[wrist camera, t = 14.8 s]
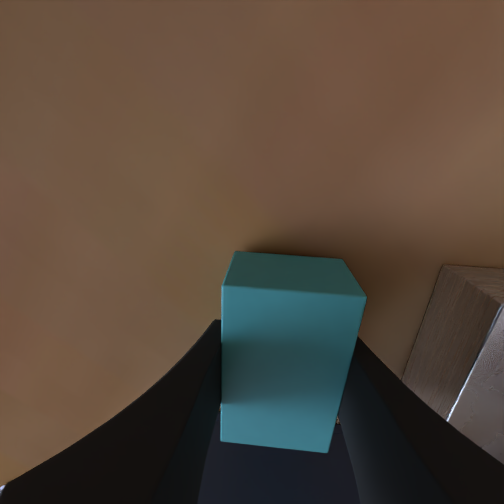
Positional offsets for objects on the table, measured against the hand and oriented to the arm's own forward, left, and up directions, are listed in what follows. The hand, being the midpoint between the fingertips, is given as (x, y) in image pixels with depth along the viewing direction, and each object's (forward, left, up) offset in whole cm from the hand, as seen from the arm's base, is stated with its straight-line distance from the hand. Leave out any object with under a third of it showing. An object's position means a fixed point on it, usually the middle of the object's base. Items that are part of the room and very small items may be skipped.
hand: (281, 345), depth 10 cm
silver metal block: (+8, 0, -1) cm, 8 cm away
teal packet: (0, 0, -1) cm, 1 cm away
